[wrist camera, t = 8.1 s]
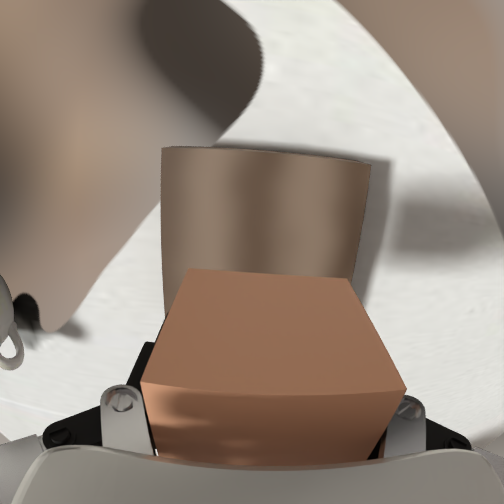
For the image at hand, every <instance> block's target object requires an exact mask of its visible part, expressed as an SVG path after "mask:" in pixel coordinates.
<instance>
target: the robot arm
mask: <svg viewBox="0 0 504 504" xmlns="http://www.w3.org/2000/svg"><path fill="white" fill-rule="evenodd" d="M168 313H169V312H168ZM168 313H167V315H168ZM167 315H166V317H165V320H166V318H167ZM165 320H164V322H165ZM164 322H163V324H162V327H163V325H164ZM162 327H161V329H160V331H159V334H160V332H161V330H162ZM159 334H158V336H157V338H156V341H157V339H158V337H159ZM156 341H155V343H154V342H145V344H144V345H143V347H142V350H141V352H140V354H139V356H138V358H137V361H136V363H135V365H134V367H133V370H132V372H131V374H130V376H129V379H128V381H127V383H126V385H115V386H112V387H110V388H108V389H107V390H105V391H104V392H103V394H102V396H101V400H100V405H99V406H97V407H94V408H92V409H89V410H87V411H84V412H81V413H79V414H76V415H74V416H71V417H68V418H65V419H63V420H60V421H57V422H54V423H52V424H51V425H49V426H48V427H47V428H46V429H45V431H44V432H43V435H41V436H37V435H36V434H34V435H31V436H28V437H25V438H21V439H18V440H15V441H11V442H8V443H5V444H1V445H0V504H504V458H503V457H500V456H498V455H495V454H493V453H490V452H488V451H486V450H483V449H481V448H478V447H476V446H475V448H474V449H473V448H471V444H470V442H469V440H468V439H467V438H466V437H464V436H463V435H461V434H459V433H457V432H455V431H452V430H450V429H448V428H446V427H444V426H442V425H440V424H438V423H435V422H433V421H431V420H429V419H427V418H426V415H425V408H424V406H423V404H422V403H421V402H420V401H419V400H418V399H416V398H414V397H412V396H409V395H404V396H403V398H402V400H401V402H400V404H399V406H398V408H397V409H396V411H395V413H394V415H393V417H392V419H391V420H390V422H389V424H388V426H387V427H386V429H385V431H384V432H383V434H382V436H381V437H380V439H379V441H378V442H377V444H376V446H375V447H374V449H373V450H372V452H371V454H370V455H369V457H368V458H367V460H365V461H357V462H348V463H337V464H324V465H305V466H249V465H230V464H216V463H205V462H196V461H188V460H180V459H173V458H166V457H160V456H157V454H156V450H155V449H157V448H156V445H155V441H154V438H153V434H152V430H151V426H150V422H149V418H148V414H147V410H146V406H145V402H144V397H143V393H142V388H141V383H140V381H141V378H142V376H143V373H144V371H145V368H146V366H147V363H148V361H149V358H150V356H151V353H152V351H153V349H154V346H155V344H156Z"/></svg>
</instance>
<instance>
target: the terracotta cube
mask: <svg viewBox="0 0 504 504" xmlns="http://www.w3.org/2000/svg"><path fill="white" fill-rule="evenodd" d="M140 383H141V388H142V393H143V397H144V402H145V406H146V410H147V414H148V418H149V422H150V426H151V430H152V434H153V438H154V441H155V445H156V448H157V452H158V455H159V456H160V457H166V458H173V459H180V460H188V461H196V462H205V463H216V464H230V465H249V466H305V465H324V464H337V463H348V462H357V461H365V460H367V458H368V457H369V455H370V454H371V452H372V450H373V449H374V447H375V446H376V444H377V442H378V441H379V439H380V437H381V436H382V434H383V432H384V431H385V429H386V427H387V426H388V424H389V422H390V420H391V419H392V417H393V415H394V413H395V411H396V409H397V408H398V406H399V404H400V402H401V400H402V398H403V396H404V394H405V392H406V390H407V388H406V386H405V384H404V382H403V380H402V378H401V376H400V374H399V372H398V371H397V369H396V367H395V365H394V363H393V361H392V359H391V357H390V355H389V353H388V351H387V349H386V348H385V346H384V344H383V342H382V340H381V338H380V336H379V334H378V333H377V331H376V329H375V327H374V325H373V323H372V322H371V320H370V318H369V316H368V314H367V313H366V311H365V309H364V307H363V306H362V304H361V302H360V300H359V298H358V297H357V295H356V293H355V291H354V290H353V288H352V286H351V285H350V283H349V281H348V279H347V278H330V277H313V276H296V275H280V274H264V273H250V272H235V271H221V270H208V269H194V268H188V270H187V272H186V275H185V277H184V279H183V281H182V284H181V286H180V288H179V290H178V293H177V295H176V297H175V299H174V302H173V304H172V306H171V309H170V311H169V313H168V315H167V318H166V320H165V322H164V325H163V327H162V330H161V332H160V334H159V337H158V339H157V341H156V344H155V346H154V349H153V351H152V353H151V356H150V358H149V361H148V363H147V366H146V368H145V371H144V373H143V376H142V378H141V381H140Z"/></svg>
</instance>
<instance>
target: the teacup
mask: <svg viewBox="0 0 504 504" xmlns="http://www.w3.org/2000/svg"><path fill="white" fill-rule="evenodd" d="M17 328H18V327H17V324H16V322H15V321H14V308H13V303H12V297H11V294H10V291H9V288H8V286H7V284H6V282H5V280H4V279H3V277H2V276H1V275H0V347H1V344H2V343H3V342H4V341H5V339H6V338H7V337H8V335H9V336H10V338H11V340H12V341H13V343H14V345H15V349H16V356H15V357H13V358H5V357H3V356H2V355H1V353H0V367H1V368H2V369H5V370H15V369H17V368H18V367H19V366H20V365H21V364H22V362H23V359H24V347H23V343H22V341H21V338H20V336H19V334H18V332H17Z"/></svg>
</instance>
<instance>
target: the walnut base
mask: <svg viewBox="0 0 504 504" xmlns="http://www.w3.org/2000/svg"><path fill="white" fill-rule="evenodd" d="M370 170H371V165H369V164H366V163H363V162H359V161H354V160H347V159H340V158H333V157H325V156H317V155H308V154H299V153H289V152H278V151H267V150H254V149H238V148H220V147H191V146H171V147H165V148H162V158H161V250H162V275H163V294H164V309H165V317H166V315H167V313H168V312H169V311H170V309H171V306H172V304H173V302H174V299H175V297H176V295H177V293H178V290H179V288H180V286H181V284H182V281H183V279H184V277H185V275H186V272H187V270H188V268H194V269H208V270H221V271H235V272H250V273H264V274H280V275H296V276H313V277H330V278H347V279H348V281H349V283H350V285H351V281H352V276H353V271H354V267H355V262H356V256H357V251H358V246H359V241H360V235H361V229H362V224H363V218H364V212H365V205H366V199H367V192H368V185H369V178H370Z"/></svg>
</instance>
